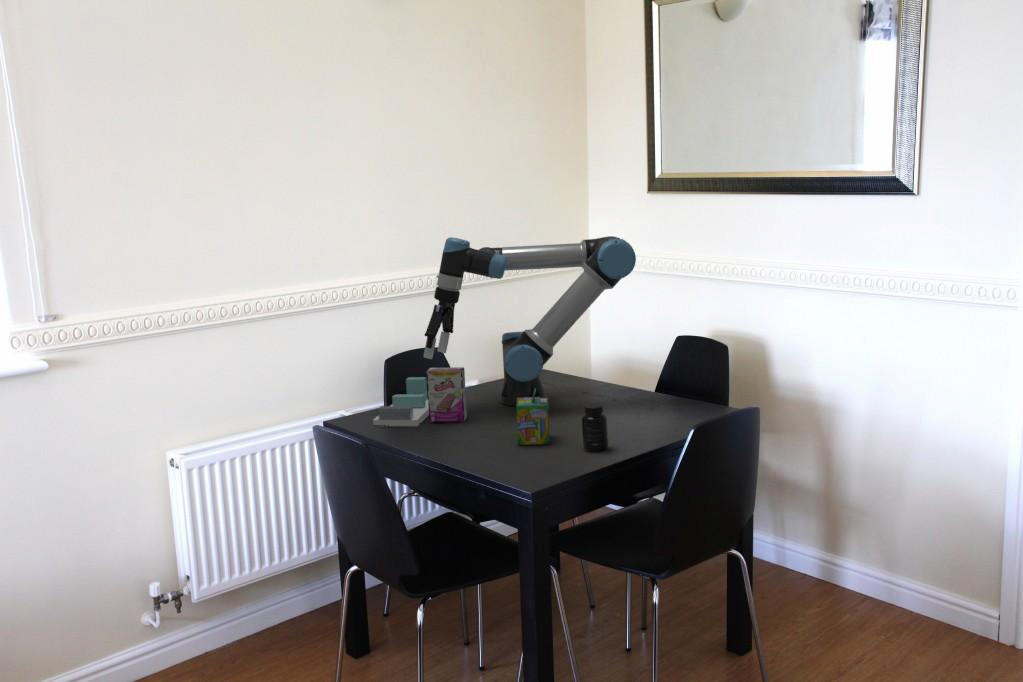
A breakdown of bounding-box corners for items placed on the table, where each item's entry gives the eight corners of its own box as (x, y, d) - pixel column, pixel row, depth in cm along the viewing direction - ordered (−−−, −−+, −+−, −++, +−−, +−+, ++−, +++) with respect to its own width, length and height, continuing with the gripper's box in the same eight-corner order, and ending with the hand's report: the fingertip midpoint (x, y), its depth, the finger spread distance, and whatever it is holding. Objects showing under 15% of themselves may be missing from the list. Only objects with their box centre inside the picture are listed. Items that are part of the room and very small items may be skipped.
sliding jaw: (404, 398, 308) (402, 377, 307) (433, 398, 306) (431, 377, 305) (392, 407, 297) (391, 386, 295) (423, 407, 295) (421, 385, 293)
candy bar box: (429, 423, 284) (425, 371, 281) (432, 418, 289) (428, 367, 286) (465, 422, 283) (462, 370, 280) (467, 418, 288) (464, 366, 285)
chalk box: (517, 436, 266) (515, 386, 263) (550, 435, 266) (547, 384, 263) (517, 446, 257) (514, 394, 254) (550, 444, 256) (548, 392, 254)
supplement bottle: (582, 445, 255) (581, 402, 252) (608, 444, 254) (606, 402, 252) (582, 452, 248) (580, 409, 246) (608, 452, 247) (606, 408, 245)
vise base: (398, 404, 309) (397, 388, 308) (439, 404, 306) (438, 388, 305) (373, 426, 284) (372, 408, 283) (417, 426, 282) (416, 408, 281)
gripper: (449, 283, 297) (436, 347, 301) (423, 288, 273) (409, 357, 277) (471, 288, 296) (457, 352, 299) (447, 294, 272) (433, 363, 275)
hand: (434, 355), depth 288 cm, fingers open, 13 cm apart
